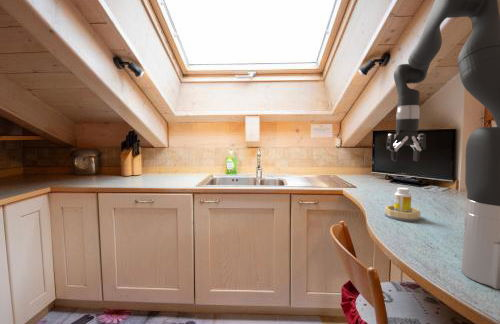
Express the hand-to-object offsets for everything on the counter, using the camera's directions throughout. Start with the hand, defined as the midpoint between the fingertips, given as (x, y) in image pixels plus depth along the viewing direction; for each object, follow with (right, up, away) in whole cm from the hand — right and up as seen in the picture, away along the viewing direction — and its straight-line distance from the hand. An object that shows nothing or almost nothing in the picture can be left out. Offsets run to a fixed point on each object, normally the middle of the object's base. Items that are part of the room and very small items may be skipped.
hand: (405, 161), depth 101 cm
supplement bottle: (0, -21, +2) cm, 21 cm away
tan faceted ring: (0, -22, +2) cm, 22 cm away
